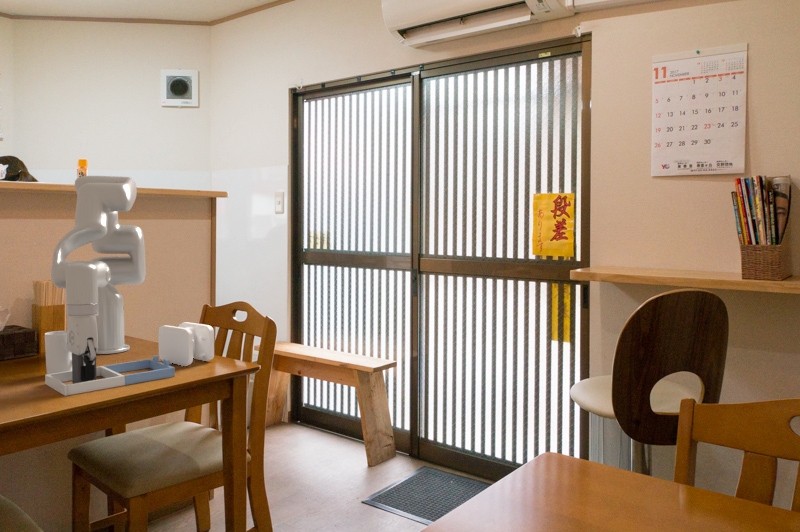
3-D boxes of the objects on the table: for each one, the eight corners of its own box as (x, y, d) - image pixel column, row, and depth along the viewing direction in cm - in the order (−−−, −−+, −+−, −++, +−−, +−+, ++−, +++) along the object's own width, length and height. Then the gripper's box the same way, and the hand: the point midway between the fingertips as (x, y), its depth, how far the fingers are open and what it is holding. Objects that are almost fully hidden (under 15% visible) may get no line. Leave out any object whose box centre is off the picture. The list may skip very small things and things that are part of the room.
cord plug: (72, 384, 163) (71, 340, 162) (90, 381, 166) (89, 337, 165) (78, 387, 160) (77, 342, 159) (96, 384, 163) (95, 340, 162)
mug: (41, 378, 169) (40, 335, 168) (51, 372, 176) (49, 331, 175) (81, 376, 171) (80, 334, 170) (88, 371, 178) (87, 330, 177)
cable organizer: (156, 362, 190) (155, 325, 189) (184, 356, 199) (184, 320, 198) (188, 368, 182) (187, 329, 181) (216, 362, 191) (216, 325, 190)
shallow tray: (45, 383, 163) (45, 368, 163) (151, 366, 183) (150, 353, 183) (64, 395, 152) (64, 379, 152) (174, 376, 173) (174, 361, 172)
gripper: (56, 308, 165) (58, 375, 166) (78, 315, 153) (80, 387, 154) (86, 305, 170) (88, 370, 171) (109, 312, 158) (111, 381, 159)
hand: (84, 377), depth 163 cm, fingers closed on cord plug, 4 cm apart
